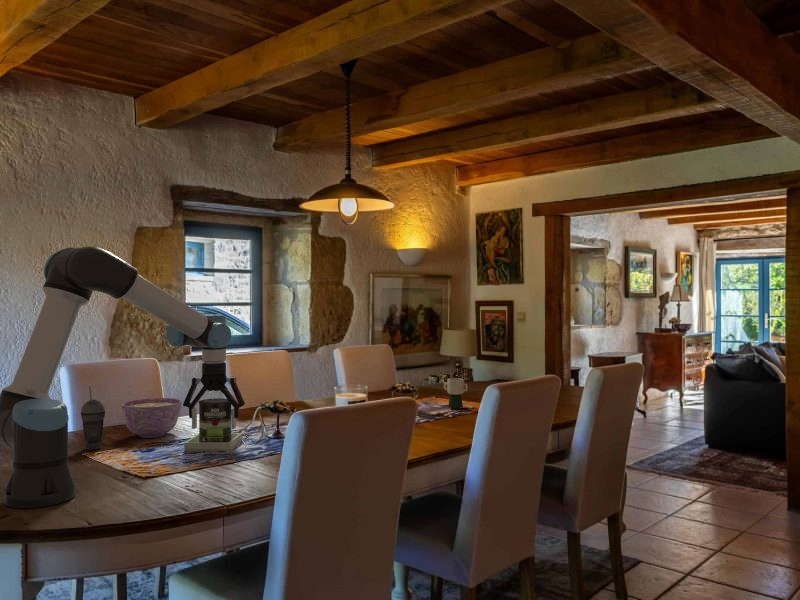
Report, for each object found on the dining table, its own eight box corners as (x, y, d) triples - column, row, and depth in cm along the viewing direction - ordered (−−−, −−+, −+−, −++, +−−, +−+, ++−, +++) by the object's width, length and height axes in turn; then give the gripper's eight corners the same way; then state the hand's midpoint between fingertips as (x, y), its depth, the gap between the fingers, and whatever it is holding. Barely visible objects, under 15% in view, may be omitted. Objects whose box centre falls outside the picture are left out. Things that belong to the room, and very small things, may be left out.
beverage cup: (95, 451, 206) (95, 388, 206) (75, 450, 207) (75, 387, 207) (110, 446, 213) (110, 384, 213) (90, 445, 214) (90, 384, 214)
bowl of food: (108, 439, 222) (108, 405, 222) (144, 428, 242) (144, 397, 242) (160, 443, 218) (160, 408, 218) (193, 431, 237) (193, 399, 237)
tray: (230, 451, 205) (230, 443, 205) (184, 451, 206) (184, 442, 206) (242, 441, 220) (242, 433, 220) (199, 441, 220) (199, 433, 220)
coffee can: (231, 446, 209) (231, 402, 209) (198, 448, 207) (198, 403, 207) (231, 439, 219) (231, 397, 219) (199, 441, 217) (199, 398, 217)
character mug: (470, 408, 284) (470, 378, 284) (464, 411, 278) (464, 380, 278) (446, 406, 289) (446, 377, 289) (440, 409, 283) (440, 379, 283)
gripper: (254, 360, 216) (254, 426, 216) (180, 360, 217) (181, 425, 217) (248, 363, 209) (248, 430, 209) (172, 363, 209) (172, 430, 209)
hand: (214, 428), depth 213 cm, fingers open, 12 cm apart
